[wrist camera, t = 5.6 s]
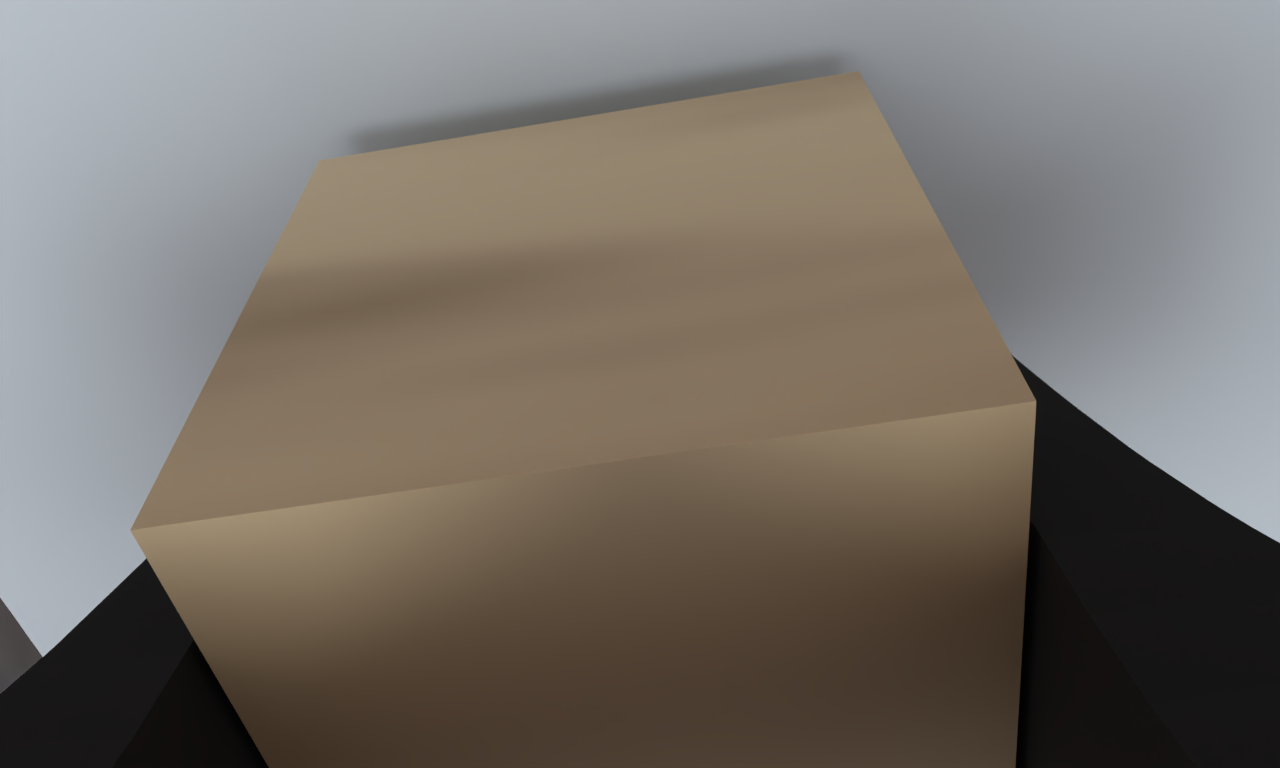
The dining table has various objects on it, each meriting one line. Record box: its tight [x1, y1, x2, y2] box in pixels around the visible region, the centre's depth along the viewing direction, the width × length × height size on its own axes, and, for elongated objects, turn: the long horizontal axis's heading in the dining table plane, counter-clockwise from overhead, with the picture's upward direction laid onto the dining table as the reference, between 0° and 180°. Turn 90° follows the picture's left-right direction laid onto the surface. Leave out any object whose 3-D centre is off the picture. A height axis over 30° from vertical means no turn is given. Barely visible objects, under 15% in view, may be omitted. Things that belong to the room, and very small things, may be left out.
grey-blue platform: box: [0, 0, 1280, 657], centre depth 14 cm, size 14×18×3 cm
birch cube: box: [130, 71, 1036, 768], centre depth 9 cm, size 5×5×5 cm
